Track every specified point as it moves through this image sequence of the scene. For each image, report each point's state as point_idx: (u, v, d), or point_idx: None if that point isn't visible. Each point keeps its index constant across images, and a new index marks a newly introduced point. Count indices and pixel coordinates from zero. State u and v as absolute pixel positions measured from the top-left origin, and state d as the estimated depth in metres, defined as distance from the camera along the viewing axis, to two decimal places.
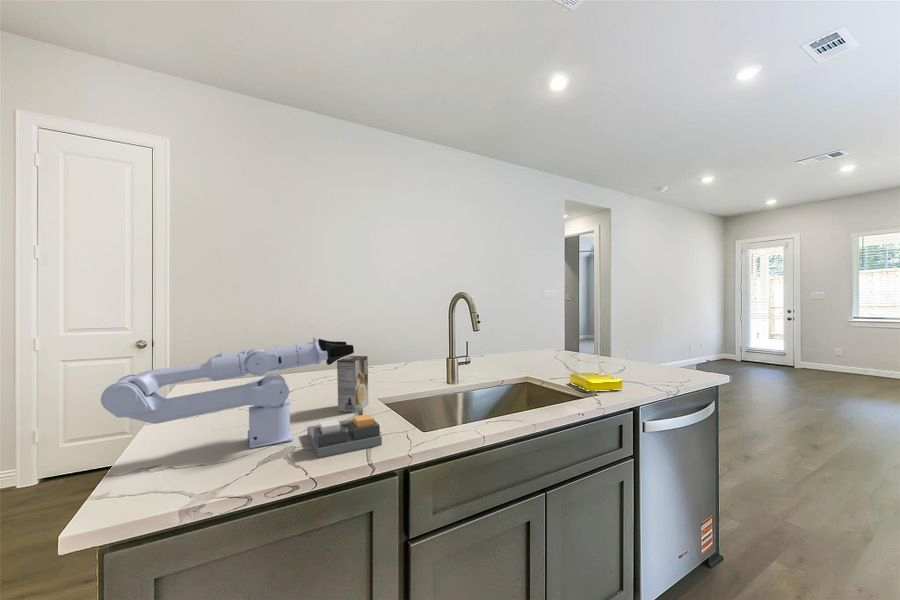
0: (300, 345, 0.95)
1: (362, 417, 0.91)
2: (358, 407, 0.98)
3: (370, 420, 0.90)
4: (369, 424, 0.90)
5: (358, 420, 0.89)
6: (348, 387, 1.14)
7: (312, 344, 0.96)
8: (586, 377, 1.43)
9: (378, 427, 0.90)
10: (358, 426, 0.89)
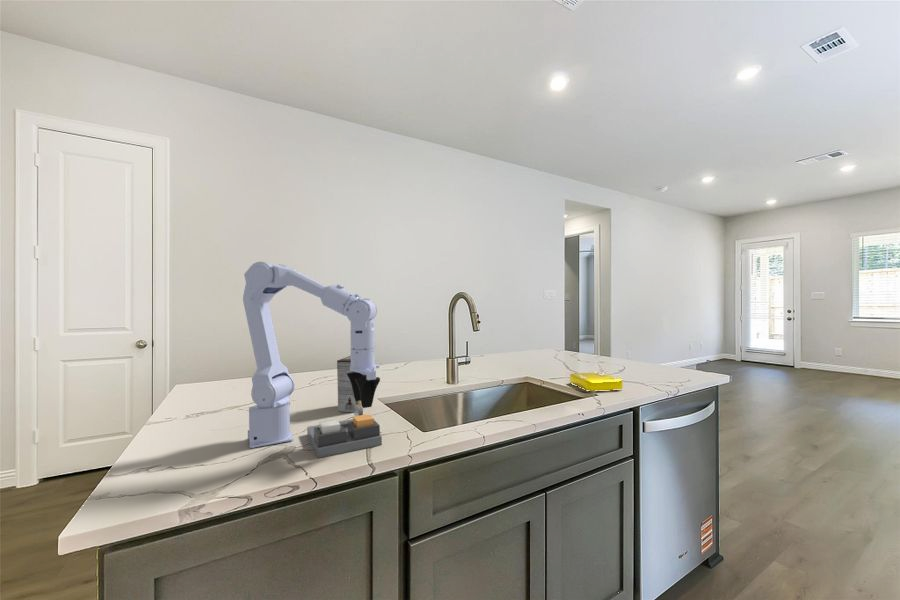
0: (374, 352, 0.91)
1: (362, 417, 0.91)
2: (358, 407, 0.98)
3: (370, 420, 0.90)
4: (369, 424, 0.90)
5: (358, 420, 0.89)
6: (348, 387, 1.14)
7: (374, 363, 0.91)
8: (586, 377, 1.43)
9: (378, 427, 0.90)
10: (358, 426, 0.89)
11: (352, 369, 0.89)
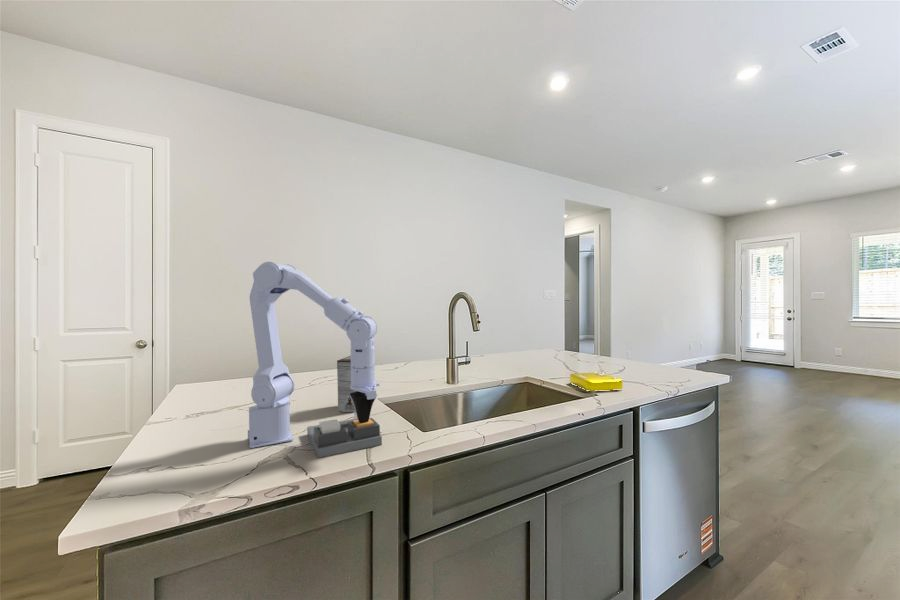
0: (374, 370, 0.91)
1: None
2: None
3: (370, 424, 0.90)
4: None
5: (358, 424, 0.89)
6: (348, 387, 1.14)
7: (374, 382, 0.91)
8: (586, 377, 1.43)
9: (378, 427, 0.90)
10: None
11: (352, 388, 0.89)
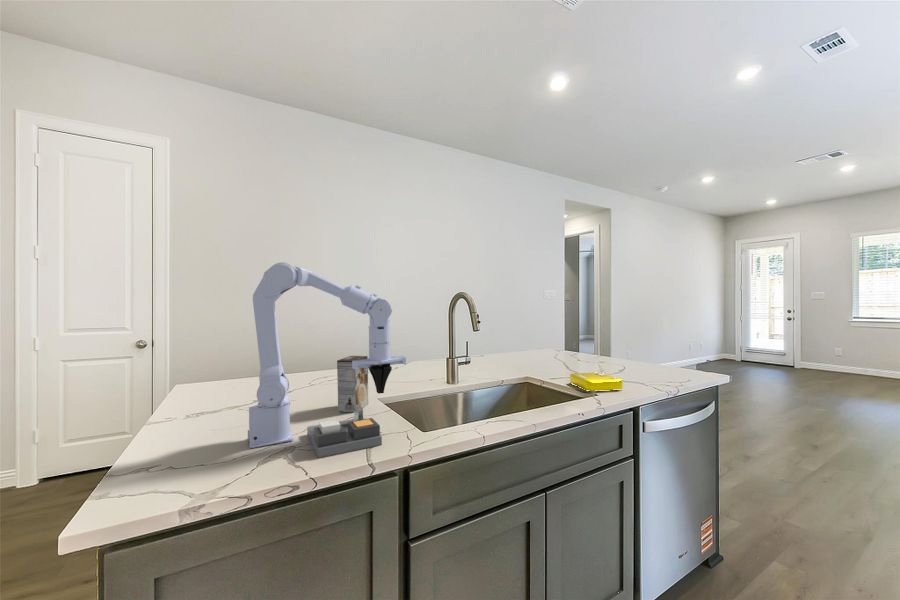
0: (379, 347, 0.98)
1: (362, 422, 0.91)
2: (358, 407, 0.98)
3: (370, 425, 0.90)
4: None
5: (358, 425, 0.89)
6: (348, 387, 1.14)
7: (377, 358, 0.98)
8: (586, 377, 1.43)
9: (378, 427, 0.90)
10: None
11: None
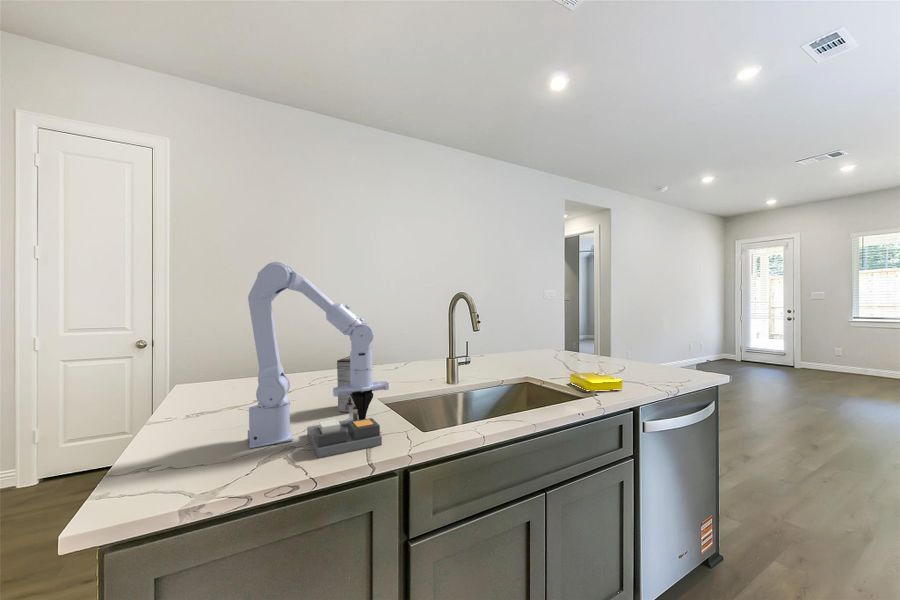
0: (360, 374, 0.96)
1: (362, 422, 0.91)
2: (353, 408, 0.97)
3: (370, 425, 0.90)
4: None
5: (358, 425, 0.89)
6: None
7: (358, 385, 0.96)
8: (586, 377, 1.43)
9: (378, 427, 0.90)
10: None
11: None
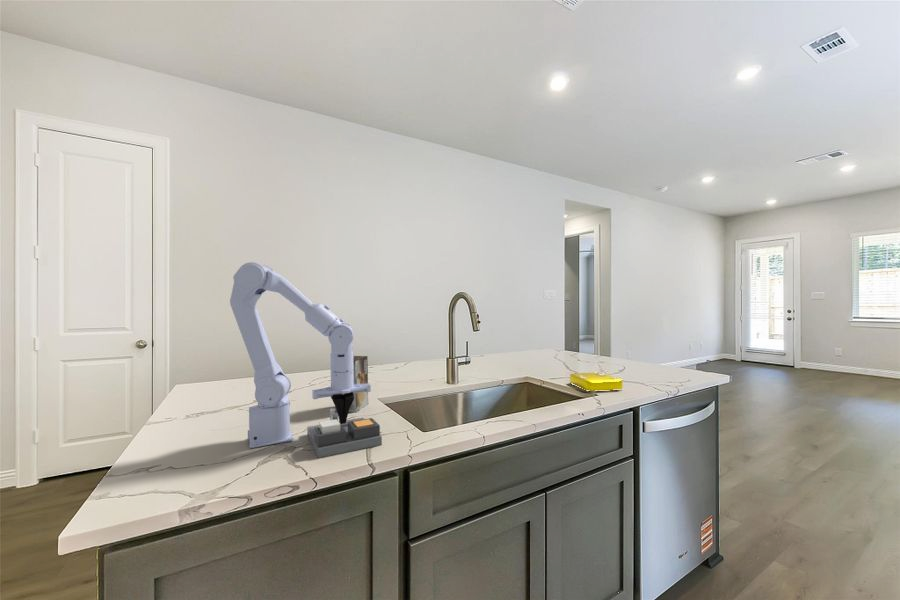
0: (340, 376, 0.94)
1: (362, 422, 0.91)
2: (333, 411, 0.95)
3: (370, 425, 0.90)
4: None
5: (358, 425, 0.89)
6: None
7: (338, 387, 0.94)
8: (586, 377, 1.43)
9: (378, 427, 0.90)
10: None
11: None
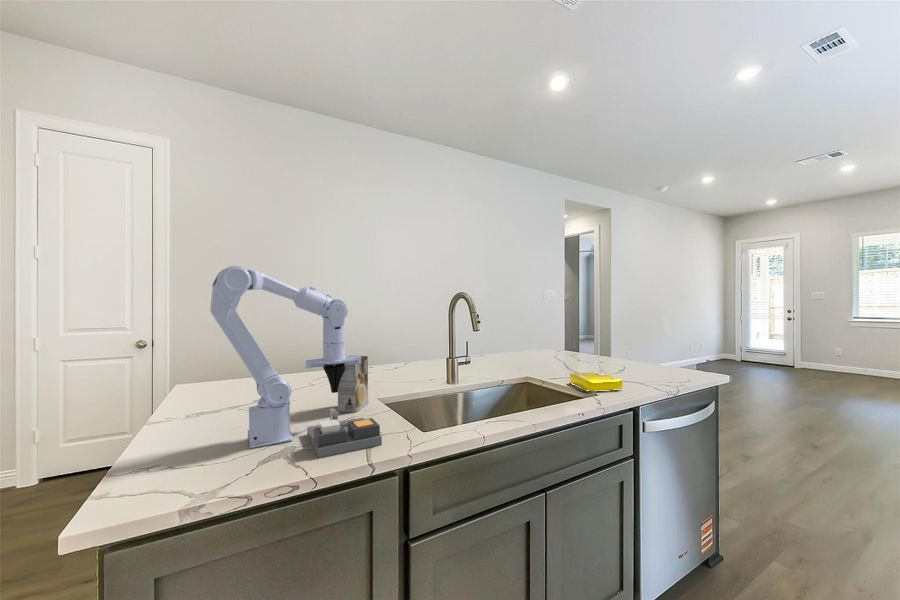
0: (331, 347, 1.00)
1: (362, 422, 0.91)
2: (333, 411, 0.95)
3: (370, 425, 0.90)
4: None
5: (358, 425, 0.89)
6: (348, 387, 1.14)
7: (330, 358, 1.00)
8: (586, 377, 1.43)
9: (378, 427, 0.90)
10: None
11: None
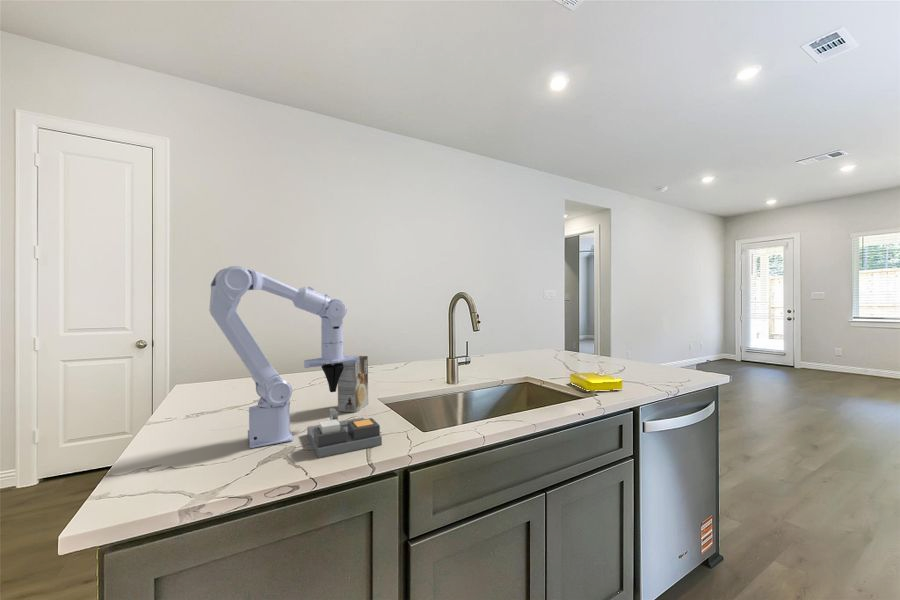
0: (330, 347, 1.00)
1: (362, 422, 0.91)
2: (333, 411, 0.95)
3: (370, 425, 0.90)
4: None
5: (358, 425, 0.89)
6: (348, 387, 1.14)
7: (329, 357, 1.00)
8: (586, 377, 1.43)
9: (378, 427, 0.90)
10: None
11: None
